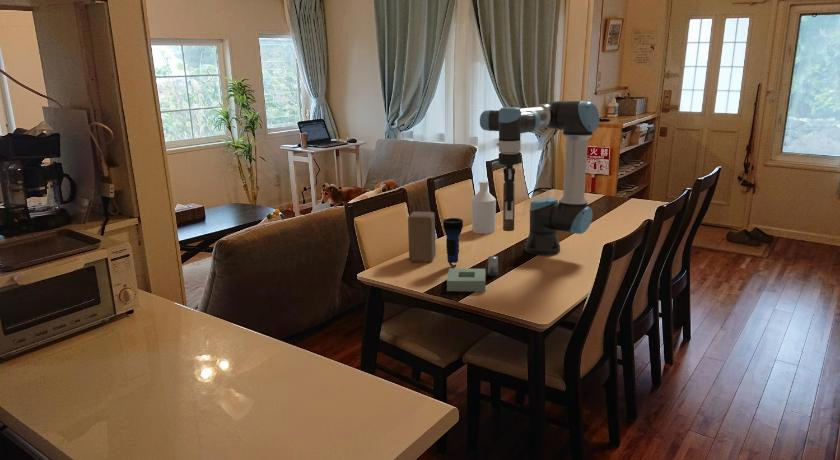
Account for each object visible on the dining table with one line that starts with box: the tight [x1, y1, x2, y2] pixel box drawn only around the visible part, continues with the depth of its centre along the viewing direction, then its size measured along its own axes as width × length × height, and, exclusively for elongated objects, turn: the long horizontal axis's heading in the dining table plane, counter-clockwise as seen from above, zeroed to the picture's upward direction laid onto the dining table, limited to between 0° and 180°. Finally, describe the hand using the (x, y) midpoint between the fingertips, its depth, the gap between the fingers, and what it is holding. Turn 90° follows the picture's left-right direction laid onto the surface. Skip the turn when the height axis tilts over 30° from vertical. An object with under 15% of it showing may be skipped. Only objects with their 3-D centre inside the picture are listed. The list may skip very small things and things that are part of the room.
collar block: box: [446, 267, 486, 293], centre depth 223 cm, size 14×14×4 cm
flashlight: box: [442, 217, 464, 268], centre depth 241 cm, size 8×8×20 cm
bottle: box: [471, 180, 497, 235], centre depth 294 cm, size 12×12×25 cm
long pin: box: [502, 182, 516, 232], centre depth 212 cm, size 4×4×17 cm
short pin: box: [487, 255, 499, 277], centre depth 233 cm, size 4×4×7 cm
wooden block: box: [407, 211, 437, 263], centre depth 253 cm, size 10×10×20 cm
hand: (508, 217), depth 213 cm, fingers closed on long pin, 4 cm apart
